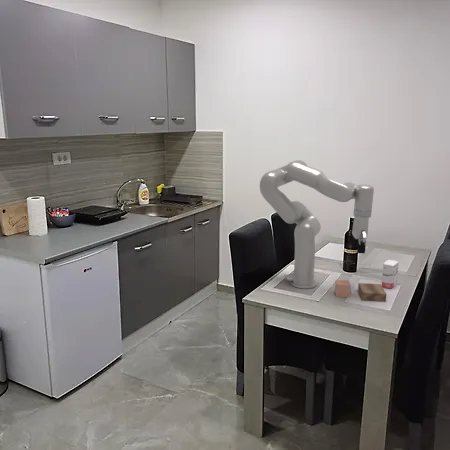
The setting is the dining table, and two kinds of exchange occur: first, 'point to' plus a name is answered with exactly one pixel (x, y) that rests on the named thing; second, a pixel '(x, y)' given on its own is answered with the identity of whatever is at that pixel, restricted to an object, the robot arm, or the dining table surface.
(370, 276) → the dining table surface
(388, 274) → the ink box
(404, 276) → the dining table surface
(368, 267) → the dining table surface
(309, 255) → the robot arm
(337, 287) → the clay cube
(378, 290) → the walnut block
